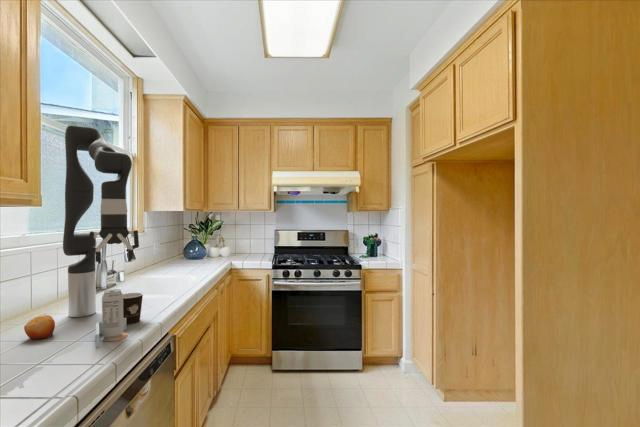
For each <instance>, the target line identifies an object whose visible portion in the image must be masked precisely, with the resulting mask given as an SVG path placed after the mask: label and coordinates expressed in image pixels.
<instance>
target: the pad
mask: <svg viewBox="0 0 640 427" xmlns="http://www.w3.org/2000/svg"><path fill="white" fill-rule="evenodd" d="M128 335H129V334H128V333H127V332H123V333H122V336H120V337H118V338H114V339H105V338H104V336H102V339H103V341H105V342H115V341H120V340H123V339H126V338H127V337H129V336H128Z"/></svg>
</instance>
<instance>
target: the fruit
mask: <svg viewBox="0 0 640 427" xmlns="http://www.w3.org/2000/svg"><path fill="white" fill-rule="evenodd" d="M55 328H56V322H55V319H54V318H53V317H52V315H48V314H44V315H40V316H39V315H38V316H36V317H33V318H32V319H30V320H29V321H28V322H26V324H25V325H24V327H23V330H24V333H25V334H26V336H27V337H28V338H29V339H31V340H41V339H48V338H49V337H51V336H52V335H53V334H54V332H55Z"/></svg>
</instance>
